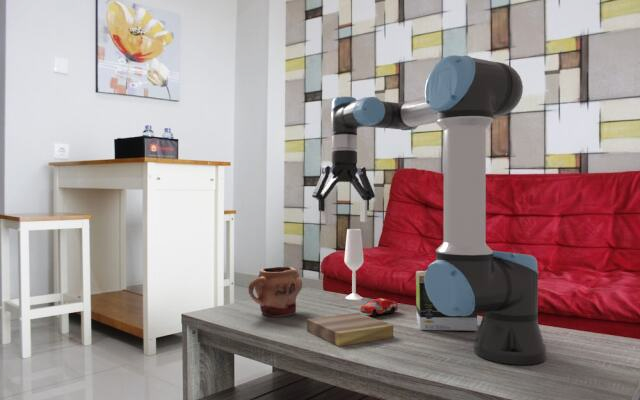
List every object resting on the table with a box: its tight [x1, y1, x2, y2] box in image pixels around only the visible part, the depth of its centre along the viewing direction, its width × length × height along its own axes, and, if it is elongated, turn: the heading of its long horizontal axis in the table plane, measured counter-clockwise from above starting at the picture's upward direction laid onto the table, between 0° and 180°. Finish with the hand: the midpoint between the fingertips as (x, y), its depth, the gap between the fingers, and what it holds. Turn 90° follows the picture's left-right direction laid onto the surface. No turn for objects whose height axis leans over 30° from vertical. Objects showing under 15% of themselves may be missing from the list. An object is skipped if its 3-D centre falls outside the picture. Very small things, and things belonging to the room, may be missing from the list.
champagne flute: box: [343, 228, 365, 301], centre depth 178 cm, size 7×7×24 cm
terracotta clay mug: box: [248, 266, 303, 318], centre depth 152 cm, size 20×12×14 cm, turn 143°
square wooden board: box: [306, 312, 394, 347], centre depth 131 cm, size 16×16×3 cm
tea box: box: [415, 270, 478, 332], centre depth 139 cm, size 15×10×15 cm, turn 84°
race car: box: [360, 298, 399, 317], centre depth 153 cm, size 13×5×4 cm, turn 128°
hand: (344, 222), depth 152 cm, fingers open, 13 cm apart
